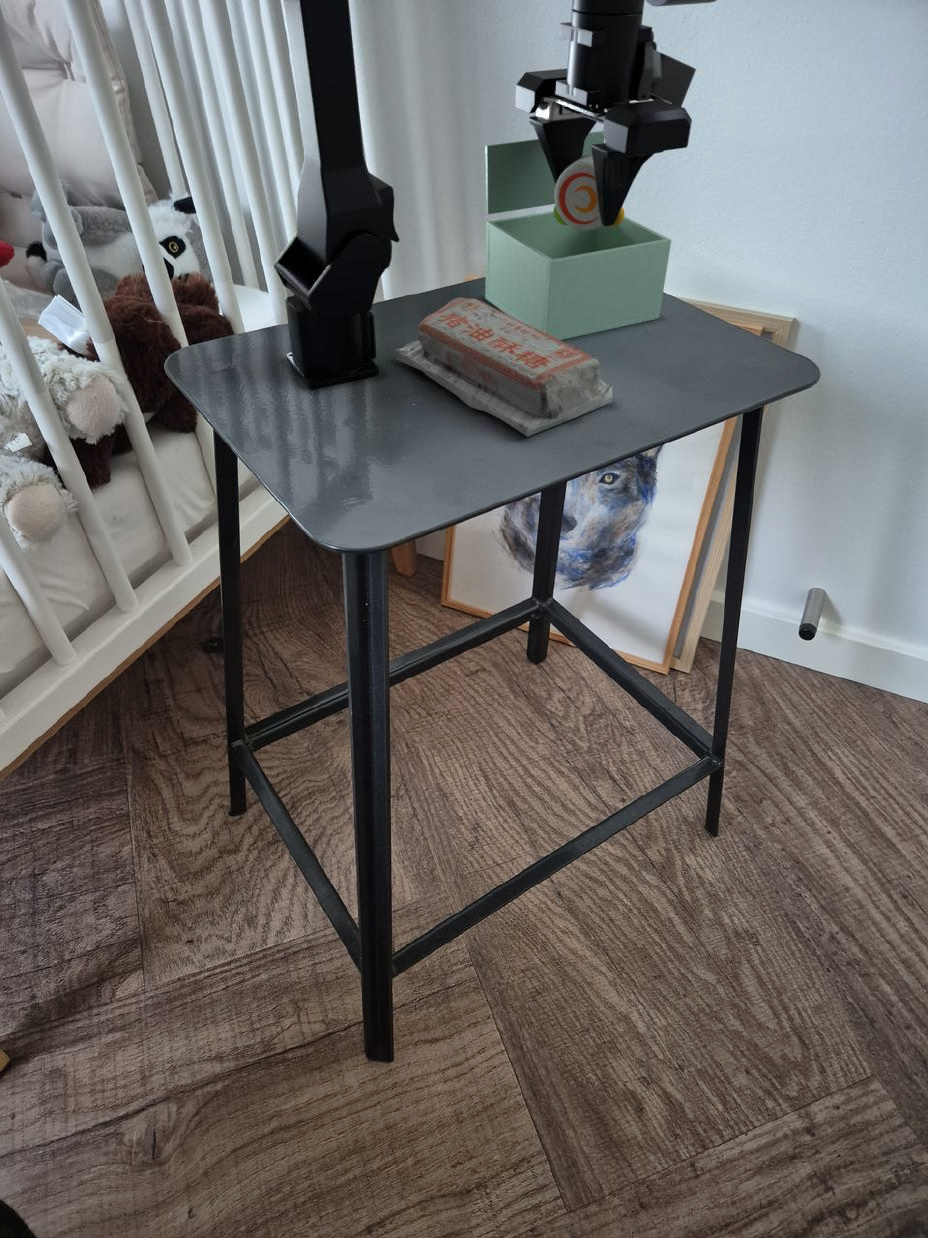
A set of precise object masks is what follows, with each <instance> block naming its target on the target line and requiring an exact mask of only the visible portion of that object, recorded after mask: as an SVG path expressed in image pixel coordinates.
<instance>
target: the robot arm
mask: <svg viewBox="0 0 928 1238" xmlns="http://www.w3.org/2000/svg"><path fill="white" fill-rule="evenodd" d="M645 1H646V2H647V4H649V5H650V6H652V7H656V8H657V7H671V6H683V5H684V6H685V5H698V4H709V3H715V2H716V1H717V0H572V1H571V3H572V4H571V16H570V21H569V22H568V21H567V22H560V24H559V37H558V38H560V39H563V40H566V41H568V54H567V55H568V57H567V68H557V69H547V70H535V71H526V72H524V74H523V75H522V76H521V78H520V79H519V80H518V82H517V83H516V85H515V86H516V87H515V103H514V104H515V109H518V110H520V111H523V112H525V113H528V114H535V113H536V115H532V116H529V117H528V122H529V124H530V125H531V126H532V127H533V129H534V131H535V134H536V136H537V139H539V141H540V144H541V146H542V149H543V151H544V154H545V156H546V159H547V162H548V165H549V167H550V170H551V173H552V176H553V179H554V182H555V184H556V183H557V180H558V178H559V176H560V175H561V173H562V172H563V171H564V170H565V169H566V168H567V167H569V166H570V165H571V164H572V163H574V162H575V161H577V160H579V159H580V158H582V155H583V148H584V142H585V139H586V137H587V136H588V134H589V133H590V132H592V130H593V128H594V127H595V126H596V124H597V123H599V124H602V126H603V127H602V131H603V136H604V143H601V144H593V145H592V146H591V148H592V156H593V164H594V172H595V180H596V188H597V197H598V205H599V212H600V217H601V222H602V225H603V226H611V225H613V224H614V223H615V221H616V219H617V217H618V214H619V212H620V210H621V208H623V206H624V203H625V201H626V199H627V196H628V195H629V192H630V191H631V189H632V185H633V184H634V181H635V179H636V177H637V176H638V174H639V172H640V170H641V169H642V167H643V165H644V164H645V163H646V162H647V161H648V160H649V159H651V158H652V157H653V156H654V155H655V154H661V153H664V152H665V151H672V150H680V149H687V148H688V146H689V141H690V135H691V129H692V122H693V119H692V118H691V116H690V115H689V112H688V111H687V109H686V108H685V107H682V106H683V104H684V101H685V99H686V96H687V94H688V92H689V89H690V86H691V84H692V81H693V80H694V79H693V78H694V76H695V74H696V71H697V68H695V67H693V66H692V65H689V64H687V63H684V62H682V61H680V60H678V59H676V58H674V57H672V56H670V55H667V54H665V53H662V52H660V51H658V50H657V48H658V44H657V42H656V41H654V39H655V33H654V31H653V27H652V26H649V25H646V24H645V25H644V24H643V19H644V18H643V16H644V9H645V8H644V7H645ZM282 2H283V8H284V17H285V25H286V31H287V38H288V45H289V53H290V60H291V68H292V73H293V74H292V75H293V82H294V90H295V96H296V103H297V111H298V117H299V125H300V133H301V139H302V146H303V165H302V168H301V173H300V178H299V183H298V187H297V192H296V231H295V233H294V234H293V236H292V238H291V239H290V240H289V241H288V243H287V244H286V246H285V248H283V250H282V252H281V253H280V254H279V256H277V258H276V260H275V261H274V262H273V268H274V270H275V272H276V274H277V276H278V278H279V280H280V282H281V284H282V286H283V287H285V288H286V289H288V290H289V291H290V292H291V293H292V294H293V295H291V296H286V297H284V302H285V311H286V318H287V324H288V325H287V326H288V332H289V333H288V334H289V340H290V349H291V352H289V353H287V354H286V360H287V362H288V363H289V364H290V366H291V367H292V368H293V369H294V371H295V372H296V373H297V375H298V376H299V377H300V378H301V379H302V381H303V382H304V383H305V385H306V386H307V387H308V388H311V389H314V388H321V387H324V386H329V385H334V384H339V383H343V382H347V381H353V380H357V379H361V378H365V377H370V376H376V375H378V374H380V367H379V366H378V364H377V363H376V362H375V361H374V360H375V359H376V358H377V343H376V341H377V340H376V327H375V326H376V325H375V314H374V313H373V312H372V311H371V310H372V308H373V305H374V301H375V296H376V292H377V288H378V285H379V281H380V278H381V277H382V275H383V274H384V273H385V271H386V270H387V269H388V268H389V267H390V265H391V263H392V258H393V243H392V242H394V243H399V242H400V237H399V235H398V232H397V231H396V227H395V222H394V212H395V192H394V187H392V186H391V185H389V184H388V183H387V182H385V181H384V180H382V179H380V178H379V177H378V176H376V175H374V174H372V173H371V172H370V171H369V169H368V166H367V164H366V160H365V154H364V144H363V135H362V126H361V125H362V124H361V114H360V113H361V112H360V104H359V103H360V102H359V93H358V82H357V72H356V62H355V61H356V60H355V52H354V41H353V31H352V22H351V21H352V20H351V11H350V10H351V9H350V1H349V0H282ZM632 101H633V102H632Z"/></svg>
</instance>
